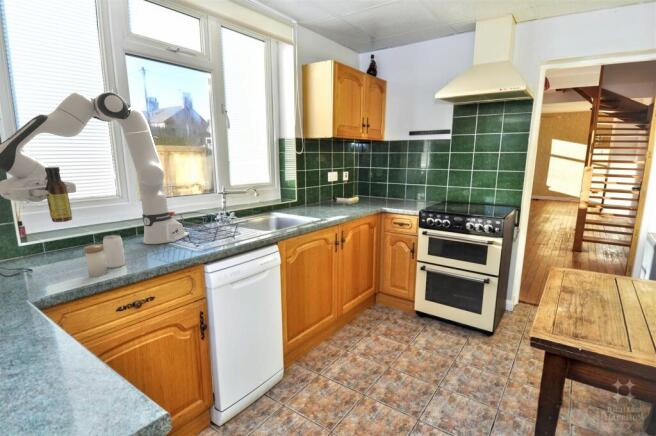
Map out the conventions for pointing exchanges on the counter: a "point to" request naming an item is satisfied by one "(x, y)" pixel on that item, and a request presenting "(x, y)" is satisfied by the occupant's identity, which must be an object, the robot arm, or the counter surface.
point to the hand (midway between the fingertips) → (57, 191)
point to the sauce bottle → (57, 196)
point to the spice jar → (95, 260)
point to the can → (113, 251)
